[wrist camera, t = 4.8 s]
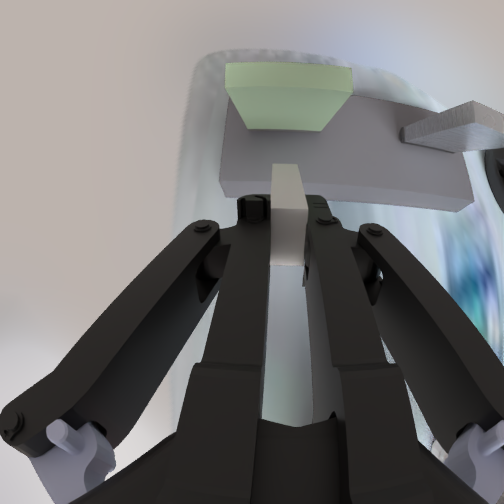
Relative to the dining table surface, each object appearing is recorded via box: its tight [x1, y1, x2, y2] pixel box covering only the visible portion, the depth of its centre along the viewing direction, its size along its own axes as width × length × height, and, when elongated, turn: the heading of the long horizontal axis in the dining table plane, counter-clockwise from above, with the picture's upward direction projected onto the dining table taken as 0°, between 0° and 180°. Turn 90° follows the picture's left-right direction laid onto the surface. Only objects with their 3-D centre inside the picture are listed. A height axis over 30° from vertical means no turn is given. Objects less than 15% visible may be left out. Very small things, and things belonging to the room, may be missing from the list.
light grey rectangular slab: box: [399, 101, 504, 154], centre depth 18 cm, size 2×7×13 cm, turn 86°
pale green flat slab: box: [225, 62, 353, 133], centre depth 19 cm, size 2×7×13 cm, turn 86°
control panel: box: [219, 95, 474, 212], centre depth 27 cm, size 12×28×4 cm, turn 87°
